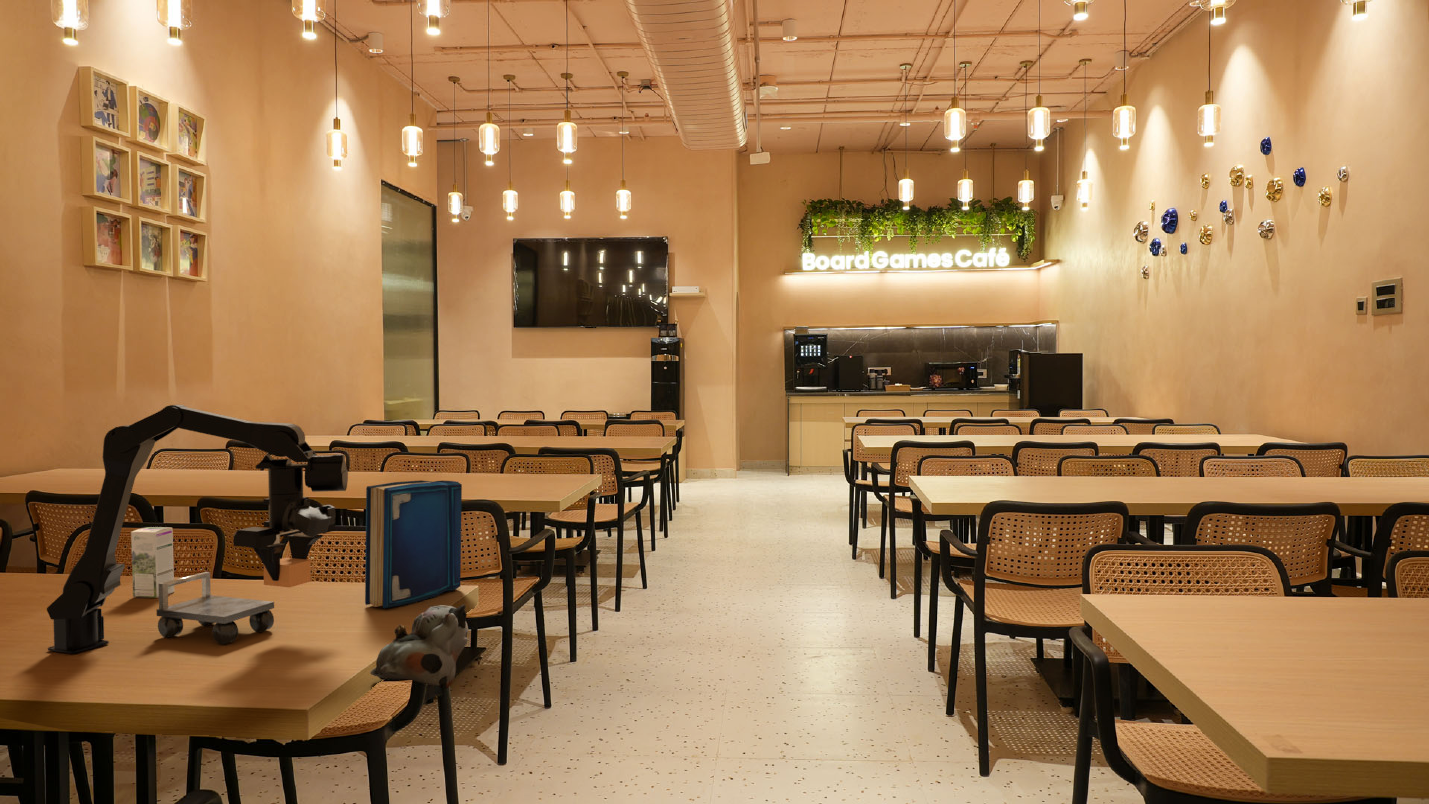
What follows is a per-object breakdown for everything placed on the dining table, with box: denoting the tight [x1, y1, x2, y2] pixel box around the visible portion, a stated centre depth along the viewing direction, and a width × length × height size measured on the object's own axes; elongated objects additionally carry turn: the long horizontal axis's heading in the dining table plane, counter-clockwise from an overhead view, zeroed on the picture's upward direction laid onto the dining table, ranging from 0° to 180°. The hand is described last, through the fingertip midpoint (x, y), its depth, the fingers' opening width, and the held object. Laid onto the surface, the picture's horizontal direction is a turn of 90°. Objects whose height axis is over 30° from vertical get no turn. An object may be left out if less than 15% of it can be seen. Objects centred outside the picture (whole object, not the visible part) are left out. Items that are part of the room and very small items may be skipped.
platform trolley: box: [156, 571, 275, 646], centre depth 163 cm, size 11×17×10 cm, turn 71°
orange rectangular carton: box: [263, 557, 312, 589], centre depth 163 cm, size 5×6×4 cm
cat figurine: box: [370, 604, 469, 690], centre depth 138 cm, size 15×12×14 cm
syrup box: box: [130, 526, 175, 599], centre depth 193 cm, size 6×6×14 cm
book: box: [364, 480, 463, 609], centre depth 189 cm, size 22×7×25 cm, turn 149°
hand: (287, 577), depth 163 cm, fingers closed on orange rectangular carton, 5 cm apart
